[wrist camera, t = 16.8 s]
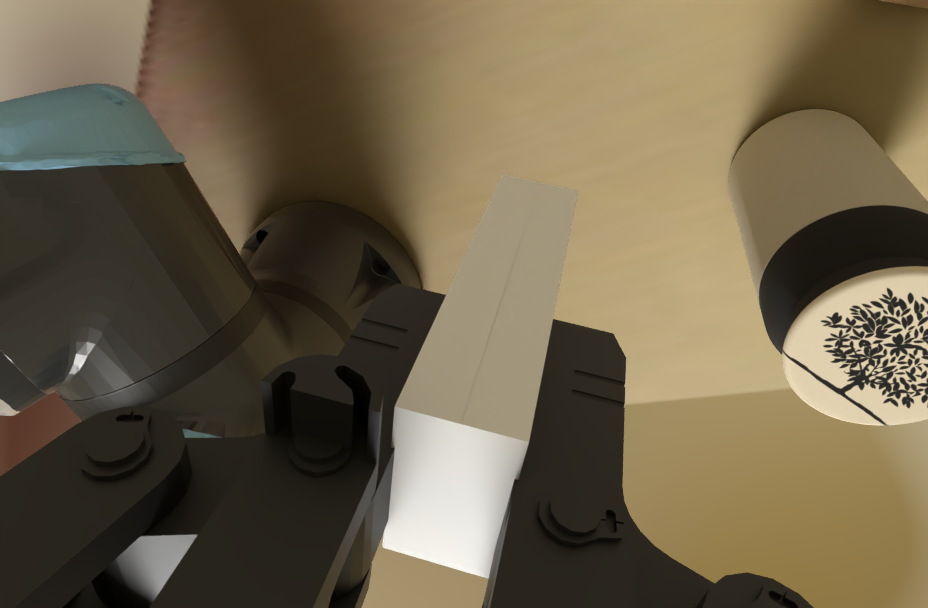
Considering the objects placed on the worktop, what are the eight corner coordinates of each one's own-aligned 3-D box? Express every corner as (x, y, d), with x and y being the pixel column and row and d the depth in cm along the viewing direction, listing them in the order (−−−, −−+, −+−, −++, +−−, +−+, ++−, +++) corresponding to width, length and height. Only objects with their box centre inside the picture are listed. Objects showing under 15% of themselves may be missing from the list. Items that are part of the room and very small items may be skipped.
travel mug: (818, 77, 34) (943, 221, 20) (903, 172, 36) (1073, 368, 22) (700, 172, 39) (733, 345, 25) (780, 252, 41) (854, 458, 26)
